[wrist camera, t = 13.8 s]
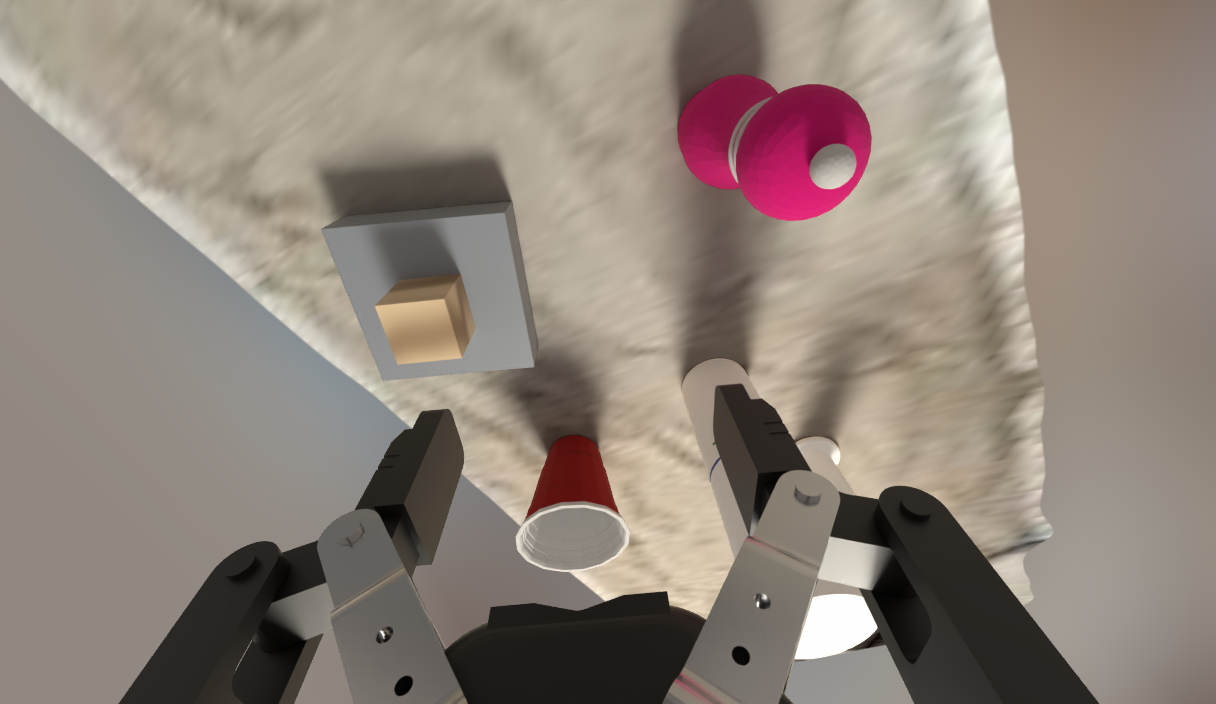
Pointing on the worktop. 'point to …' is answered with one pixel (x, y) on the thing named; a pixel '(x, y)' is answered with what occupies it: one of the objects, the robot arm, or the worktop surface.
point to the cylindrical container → (834, 606)
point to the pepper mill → (776, 144)
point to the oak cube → (427, 319)
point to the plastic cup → (572, 511)
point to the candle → (824, 461)
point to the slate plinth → (440, 246)
